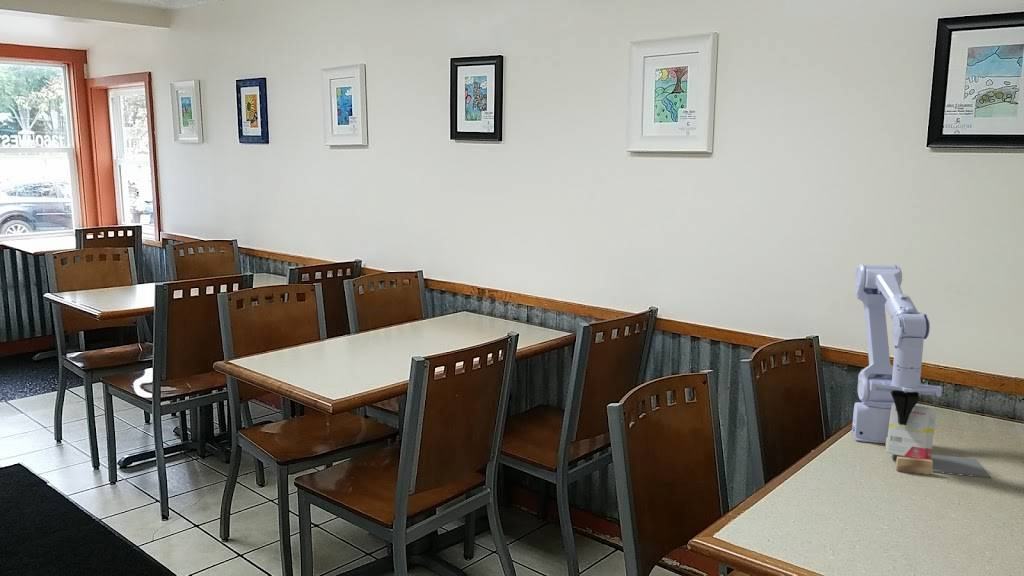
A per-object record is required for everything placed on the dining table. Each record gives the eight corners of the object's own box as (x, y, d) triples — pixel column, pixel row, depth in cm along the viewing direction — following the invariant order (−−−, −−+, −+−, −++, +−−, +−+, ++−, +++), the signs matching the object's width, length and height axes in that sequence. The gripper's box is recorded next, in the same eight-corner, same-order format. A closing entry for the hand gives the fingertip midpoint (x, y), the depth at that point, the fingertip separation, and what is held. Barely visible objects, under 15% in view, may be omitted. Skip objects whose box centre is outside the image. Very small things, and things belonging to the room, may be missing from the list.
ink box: (931, 462, 178) (938, 410, 179) (924, 460, 175) (931, 408, 176) (892, 454, 184) (898, 404, 186) (884, 452, 181) (891, 402, 182)
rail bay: (896, 471, 174) (898, 458, 173) (885, 449, 187) (886, 437, 187) (931, 474, 172) (932, 461, 171) (917, 452, 185) (918, 440, 185)
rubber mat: (932, 472, 173) (932, 470, 173) (921, 455, 184) (921, 453, 184) (990, 478, 170) (990, 476, 170) (975, 460, 180) (976, 458, 180)
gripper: (875, 367, 175) (870, 425, 177) (947, 372, 171) (941, 432, 173) (870, 360, 181) (865, 416, 183) (939, 365, 177) (934, 422, 179)
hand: (902, 423), depth 179 cm, fingers closed
